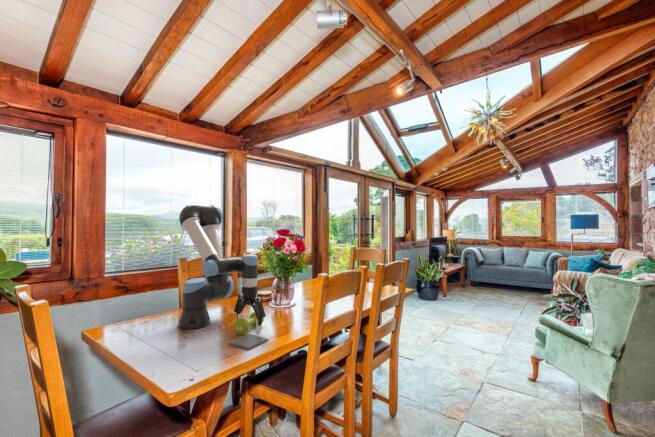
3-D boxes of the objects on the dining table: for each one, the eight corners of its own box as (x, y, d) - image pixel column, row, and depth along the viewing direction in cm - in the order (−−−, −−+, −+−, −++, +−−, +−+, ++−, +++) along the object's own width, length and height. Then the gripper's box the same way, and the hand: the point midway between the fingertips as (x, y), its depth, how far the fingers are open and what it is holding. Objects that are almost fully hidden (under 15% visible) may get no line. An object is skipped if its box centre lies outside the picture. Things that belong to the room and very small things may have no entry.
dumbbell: (245, 336, 148) (246, 321, 148) (232, 334, 151) (232, 319, 151) (265, 325, 163) (265, 312, 163) (252, 323, 166) (252, 310, 166)
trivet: (229, 344, 139) (229, 341, 139) (248, 335, 149) (248, 333, 149) (248, 350, 133) (248, 347, 133) (268, 340, 143) (268, 338, 143)
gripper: (227, 284, 160) (226, 326, 160) (262, 290, 148) (262, 336, 148) (238, 281, 167) (237, 322, 167) (273, 287, 154) (272, 331, 154)
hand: (249, 329), depth 157 cm, fingers open, 12 cm apart
